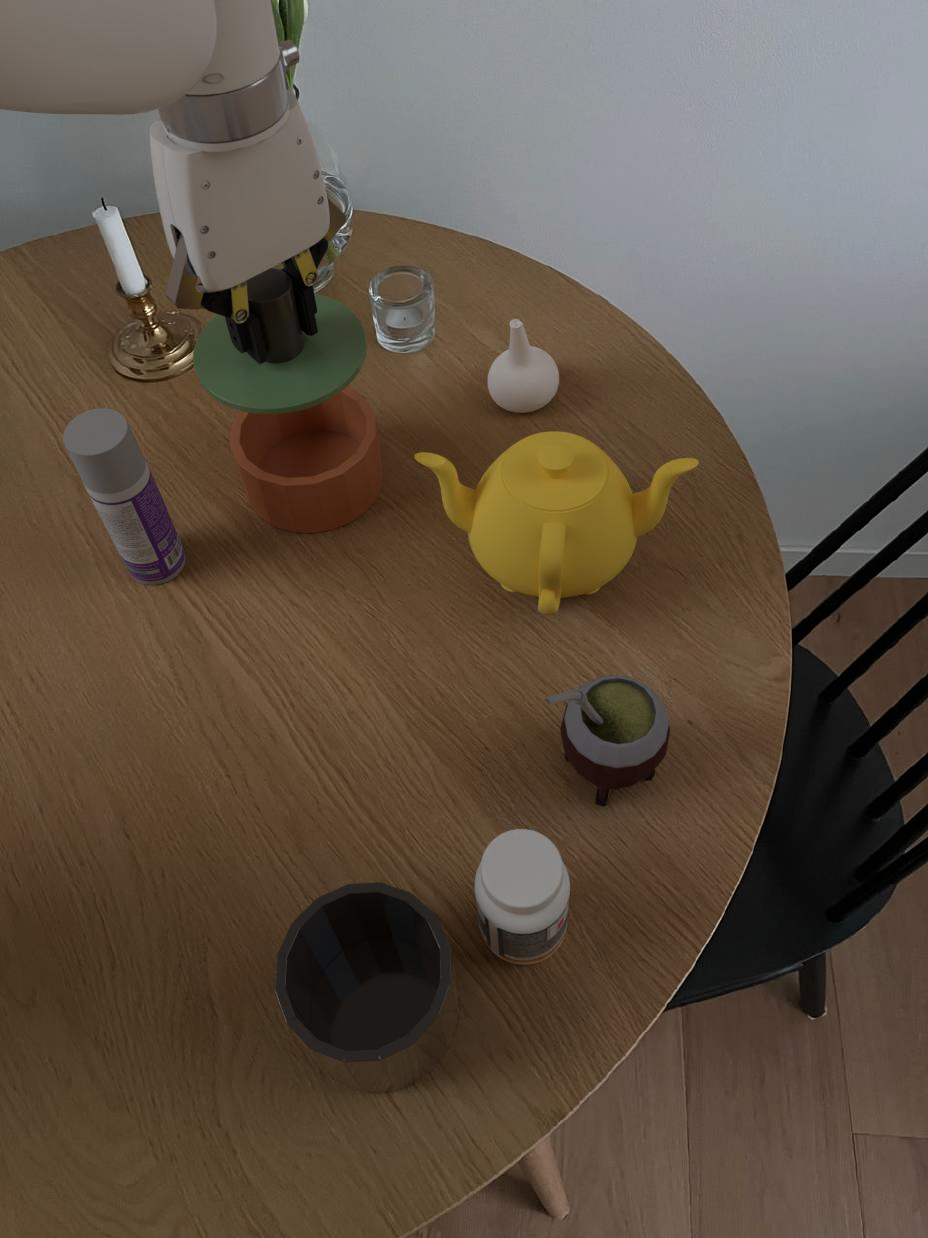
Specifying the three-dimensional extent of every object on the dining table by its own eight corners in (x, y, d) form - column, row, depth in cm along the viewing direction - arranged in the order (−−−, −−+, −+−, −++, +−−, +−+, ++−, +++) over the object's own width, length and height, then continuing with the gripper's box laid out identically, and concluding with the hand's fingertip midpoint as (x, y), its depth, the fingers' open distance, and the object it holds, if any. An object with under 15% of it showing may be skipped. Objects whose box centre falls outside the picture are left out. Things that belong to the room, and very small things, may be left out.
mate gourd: (667, 733, 75) (697, 615, 62) (648, 835, 71) (675, 730, 58) (564, 710, 76) (573, 590, 64) (539, 809, 72) (543, 701, 60)
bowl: (222, 513, 88) (204, 464, 83) (283, 416, 94) (269, 365, 89) (350, 548, 85) (339, 500, 80) (404, 446, 91) (397, 395, 86)
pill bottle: (582, 906, 68) (591, 848, 60) (540, 985, 66) (543, 936, 57) (505, 864, 70) (503, 802, 62) (461, 939, 67) (453, 885, 59)
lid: (165, 397, 76) (138, 323, 71) (245, 288, 83) (226, 213, 77) (324, 438, 73) (309, 364, 68) (393, 322, 80) (385, 246, 74)
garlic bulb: (567, 411, 93) (571, 340, 86) (497, 425, 92) (496, 355, 85) (547, 362, 96) (549, 291, 89) (480, 375, 96) (477, 304, 89)
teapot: (416, 636, 80) (402, 544, 71) (432, 486, 88) (422, 385, 79) (683, 645, 79) (706, 552, 69) (675, 492, 87) (694, 390, 77)
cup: (277, 1058, 64) (245, 1023, 56) (341, 911, 69) (319, 860, 61) (424, 1118, 62) (412, 1089, 54) (480, 961, 67) (475, 915, 59)
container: (167, 529, 87) (108, 396, 75) (197, 563, 85) (142, 432, 73) (117, 559, 86) (49, 429, 73) (146, 595, 84) (81, 467, 71)
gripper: (301, 17, 66) (340, 265, 81) (62, 120, 60) (151, 365, 75) (374, 64, 62) (400, 313, 78) (127, 177, 57) (207, 422, 72)
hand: (277, 337), depth 76 cm, fingers closed on lid, 3 cm apart
